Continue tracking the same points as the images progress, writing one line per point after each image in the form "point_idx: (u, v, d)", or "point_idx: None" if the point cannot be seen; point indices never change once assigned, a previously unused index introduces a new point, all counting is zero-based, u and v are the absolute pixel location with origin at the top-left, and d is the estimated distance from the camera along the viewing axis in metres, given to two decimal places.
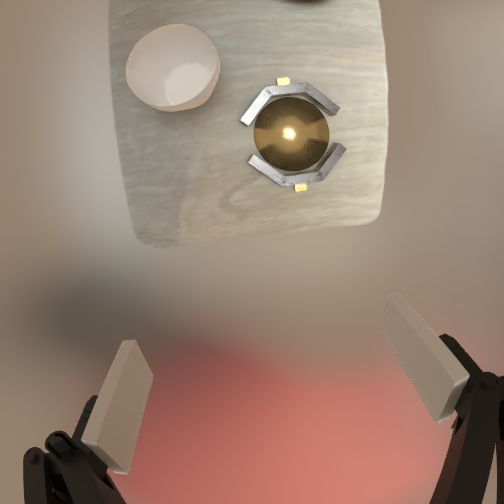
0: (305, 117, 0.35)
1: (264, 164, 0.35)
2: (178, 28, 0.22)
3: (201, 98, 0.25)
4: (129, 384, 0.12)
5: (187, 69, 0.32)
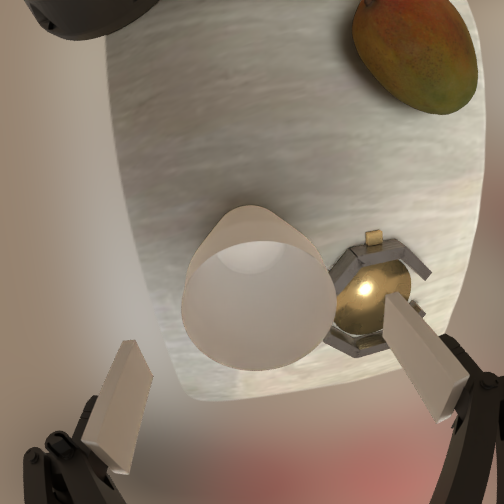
0: (390, 278, 0.29)
1: (340, 342, 0.30)
2: None
3: (297, 338, 0.19)
4: (129, 384, 0.12)
5: None
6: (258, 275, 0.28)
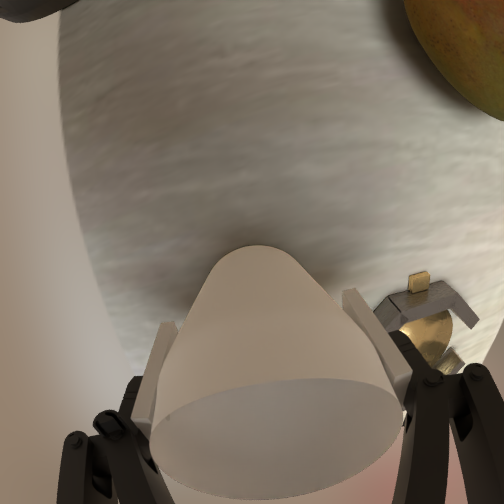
0: (430, 327, 0.21)
1: None
2: None
3: (327, 450, 0.11)
4: None
5: None
6: None
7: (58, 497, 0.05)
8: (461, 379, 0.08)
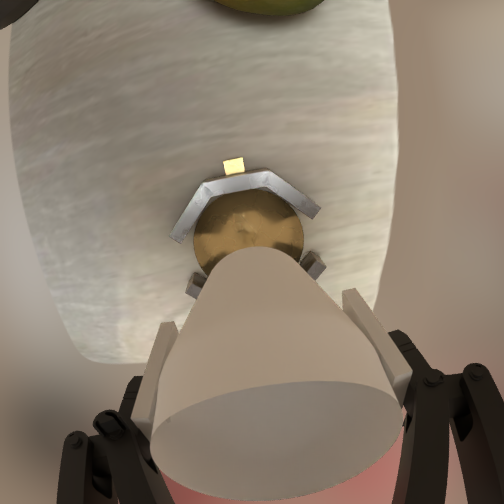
0: (268, 218, 0.26)
1: None
2: None
3: (327, 451, 0.11)
4: None
5: None
6: None
7: (57, 497, 0.05)
8: (461, 379, 0.08)
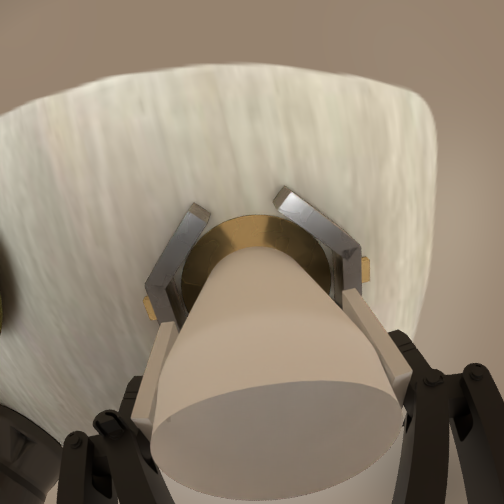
0: None
1: None
2: None
3: (327, 451, 0.11)
4: None
5: None
6: None
7: (58, 497, 0.05)
8: (461, 379, 0.08)
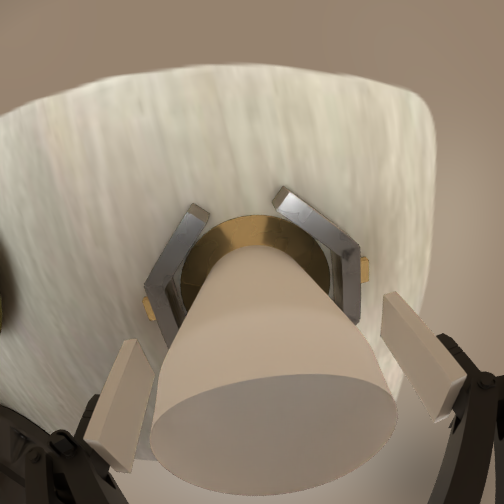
0: None
1: None
2: None
3: (324, 447, 0.12)
4: (131, 383, 0.12)
5: None
6: None
7: None
8: None
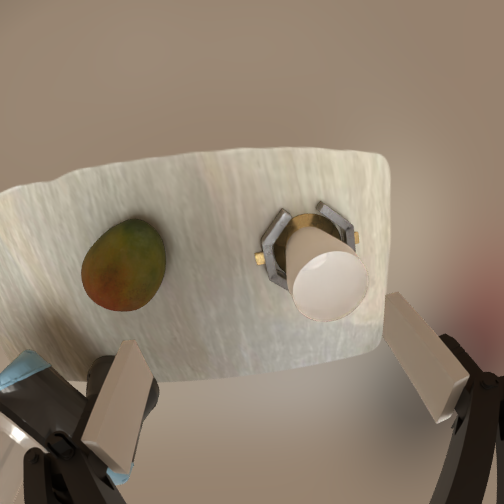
0: None
1: None
2: None
3: (345, 304, 0.34)
4: (129, 384, 0.12)
5: None
6: (312, 270, 0.43)
7: None
8: None
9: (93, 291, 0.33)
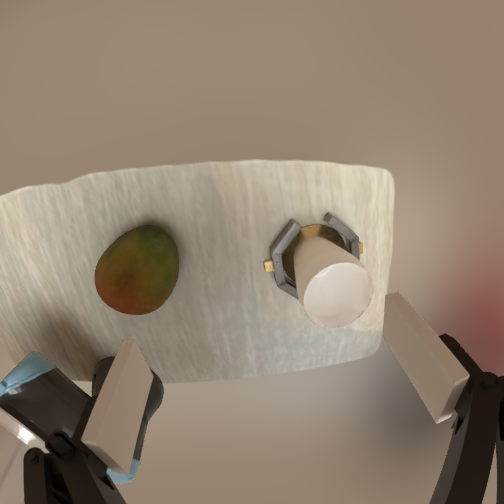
0: None
1: None
2: None
3: (350, 311, 0.36)
4: (129, 384, 0.12)
5: None
6: (318, 278, 0.45)
7: None
8: None
9: (107, 294, 0.34)
